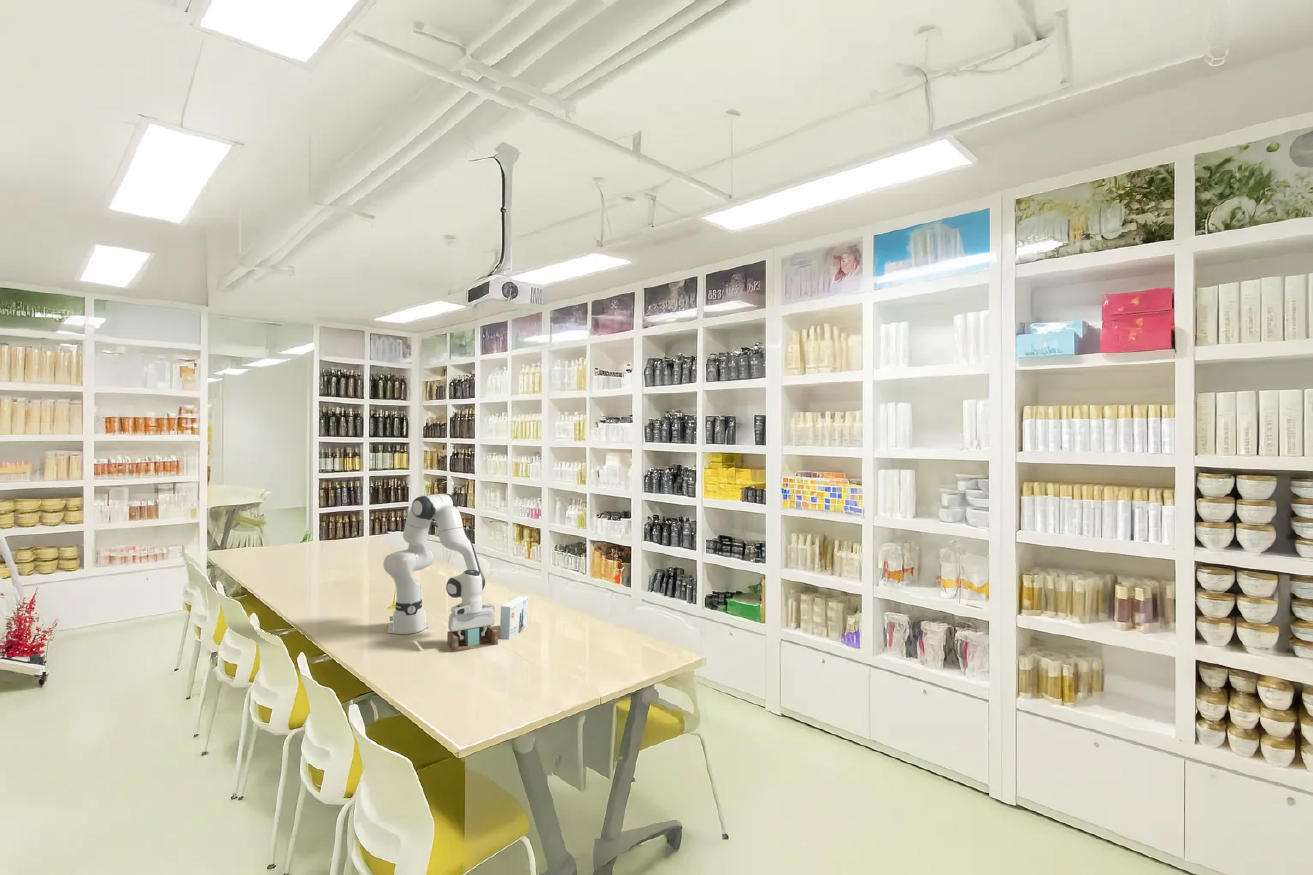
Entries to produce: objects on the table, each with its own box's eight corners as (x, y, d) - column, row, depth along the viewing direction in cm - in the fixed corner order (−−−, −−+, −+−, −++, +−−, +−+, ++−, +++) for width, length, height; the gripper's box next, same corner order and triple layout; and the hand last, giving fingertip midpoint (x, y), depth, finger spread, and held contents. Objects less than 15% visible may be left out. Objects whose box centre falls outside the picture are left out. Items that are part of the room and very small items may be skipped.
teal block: (464, 643, 282) (464, 627, 282) (475, 641, 285) (475, 625, 285) (468, 646, 278) (468, 630, 278) (479, 644, 281) (479, 628, 281)
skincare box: (510, 641, 288) (510, 606, 288) (499, 640, 289) (499, 605, 289) (528, 627, 308) (528, 595, 308) (518, 627, 309) (518, 594, 310)
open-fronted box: (447, 646, 281) (447, 631, 281) (489, 638, 291) (489, 624, 291) (454, 653, 271) (454, 638, 271) (497, 646, 281) (497, 631, 281)
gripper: (492, 602, 290) (492, 632, 290) (447, 608, 279) (447, 639, 279) (497, 605, 285) (497, 635, 285) (451, 611, 274) (451, 643, 274)
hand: (472, 637), depth 282 cm, fingers open, 8 cm apart
